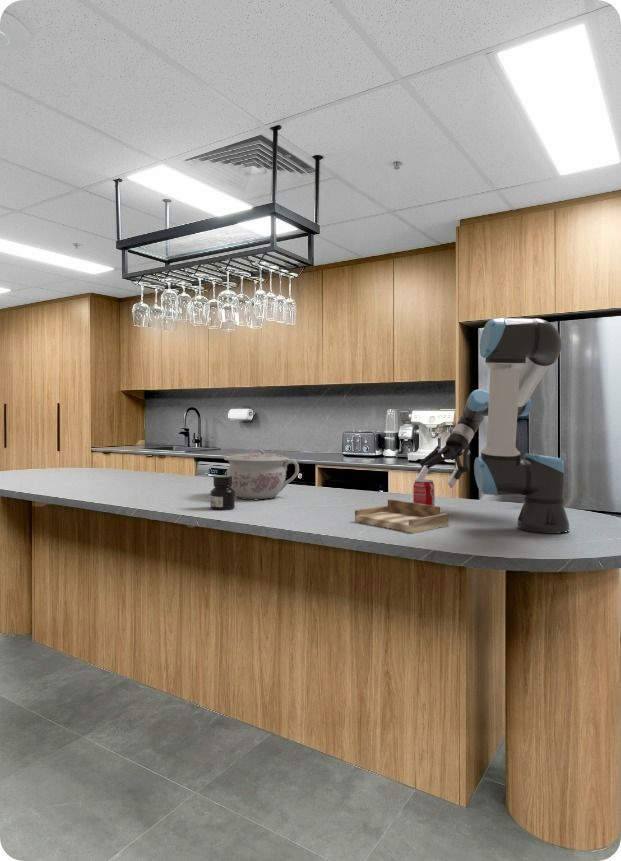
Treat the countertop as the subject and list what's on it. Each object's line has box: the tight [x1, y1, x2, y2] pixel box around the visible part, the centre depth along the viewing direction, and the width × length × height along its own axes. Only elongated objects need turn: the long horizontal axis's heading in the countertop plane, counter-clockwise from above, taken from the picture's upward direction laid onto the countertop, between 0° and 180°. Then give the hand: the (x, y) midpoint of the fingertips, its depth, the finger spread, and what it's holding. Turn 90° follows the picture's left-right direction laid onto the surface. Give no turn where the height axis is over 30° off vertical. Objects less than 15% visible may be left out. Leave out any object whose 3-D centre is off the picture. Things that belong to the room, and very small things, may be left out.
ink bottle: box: [209, 474, 236, 511], centre depth 220 cm, size 10×9×12 cm
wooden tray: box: [354, 498, 450, 534], centre depth 193 cm, size 24×18×6 cm
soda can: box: [412, 478, 436, 506], centre depth 204 cm, size 7×7×13 cm
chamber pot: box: [223, 447, 300, 500], centre depth 249 cm, size 28×28×21 cm
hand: (433, 483), depth 209 cm, fingers open, 13 cm apart
